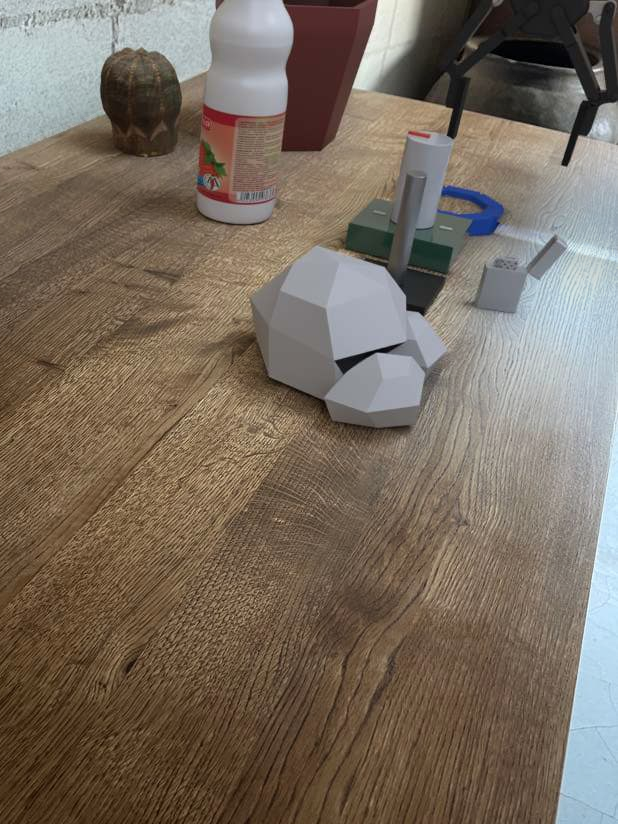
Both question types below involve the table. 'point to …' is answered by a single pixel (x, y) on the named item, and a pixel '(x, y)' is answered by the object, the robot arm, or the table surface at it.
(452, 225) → the panel
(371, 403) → the rock
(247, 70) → the fruit juice
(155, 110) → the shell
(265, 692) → the table surface
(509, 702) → the table surface
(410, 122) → the table surface
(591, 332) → the table surface
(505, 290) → the lighter
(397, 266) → the peg stand
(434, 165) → the tap knob
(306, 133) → the bucket
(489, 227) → the ring
